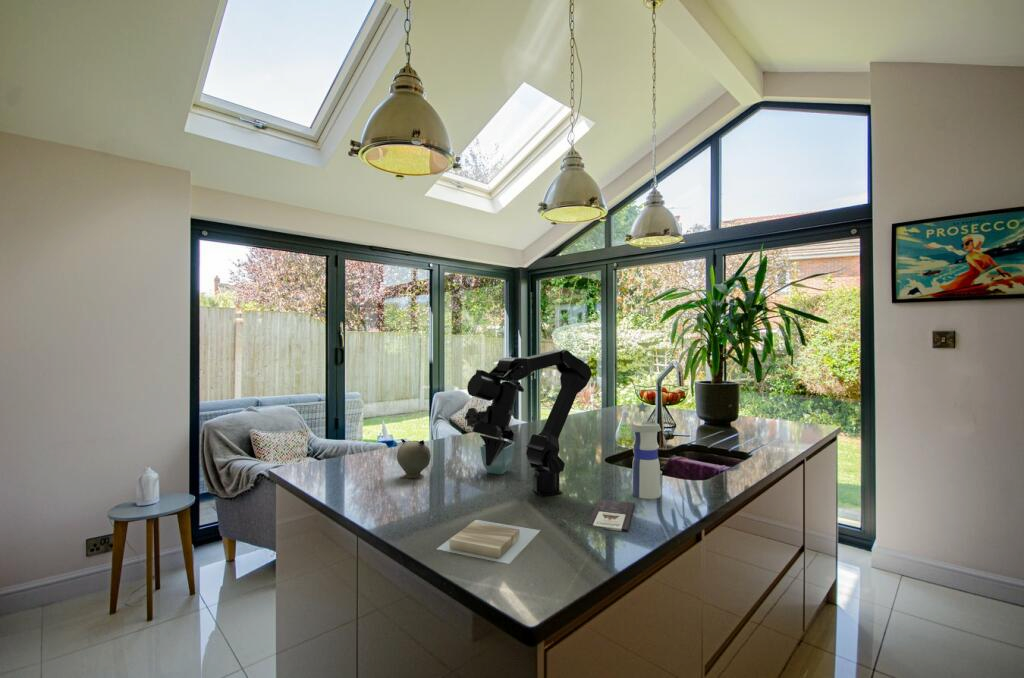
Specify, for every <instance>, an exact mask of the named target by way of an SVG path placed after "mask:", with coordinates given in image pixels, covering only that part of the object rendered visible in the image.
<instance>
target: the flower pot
mask: <svg viewBox="0 0 1024 678" xmlns="http://www.w3.org/2000/svg"><path fill="white" fill-rule="evenodd" d="M515 444H516V443H515V441H509V443H508V444H507V445H506V446H505V447H504V449H503V450H502V451H501V453H500V454H499V455H498V457H497V458H496V459H495V461H494V462H493V464H492V465H491V466H487V465H486V451H485V443H484V444H482V445H480V454H481V455H480V456H481V460H482V464H483V467H484V469H485V470H486V472H487V473H488V474H495V475H496V474H497V475H503V474H505V473H506V472H508V471H509V469H510V467H511V465H512V463H513V461H514V460H513V459H514V454H515V446H516V445H515Z"/></svg>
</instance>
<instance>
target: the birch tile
mask: <svg viewBox="0 0 1024 678" xmlns="http://www.w3.org/2000/svg"><path fill="white" fill-rule="evenodd" d="M449 539H450V548H451V549H454V550H459V551H464V552H469V553H474V554H479V555H484V556H489V557H494V558H500V557H501V556H502V555H503V554H504V553H505V552H506V551H507V550H508V549H509V548H510V547H511V546H512V545H513V544H514V543H515V542H516V541H517V540H518V539H519V529H514V528H508V527H502V526H496V525H490V524H484V523H478V522H474V521H472V522H471V523H469V524H468V525H467V526H465V527H464V528H463V529H461V530H460V531H458V532H457V533H456V534H455V535H453V536H452V537H450V538H449Z"/></svg>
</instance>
